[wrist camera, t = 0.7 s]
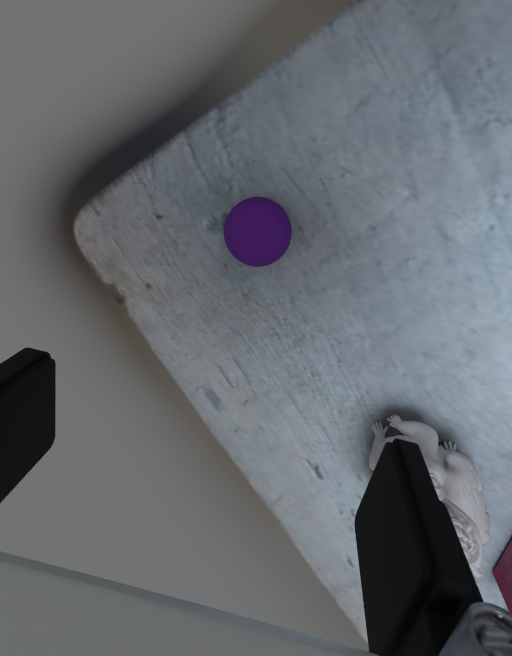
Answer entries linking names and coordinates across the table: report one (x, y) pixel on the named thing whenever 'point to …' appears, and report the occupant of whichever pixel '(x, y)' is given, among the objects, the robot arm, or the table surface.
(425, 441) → the figurine
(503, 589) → the popsicle
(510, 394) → the table surface
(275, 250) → the ball
